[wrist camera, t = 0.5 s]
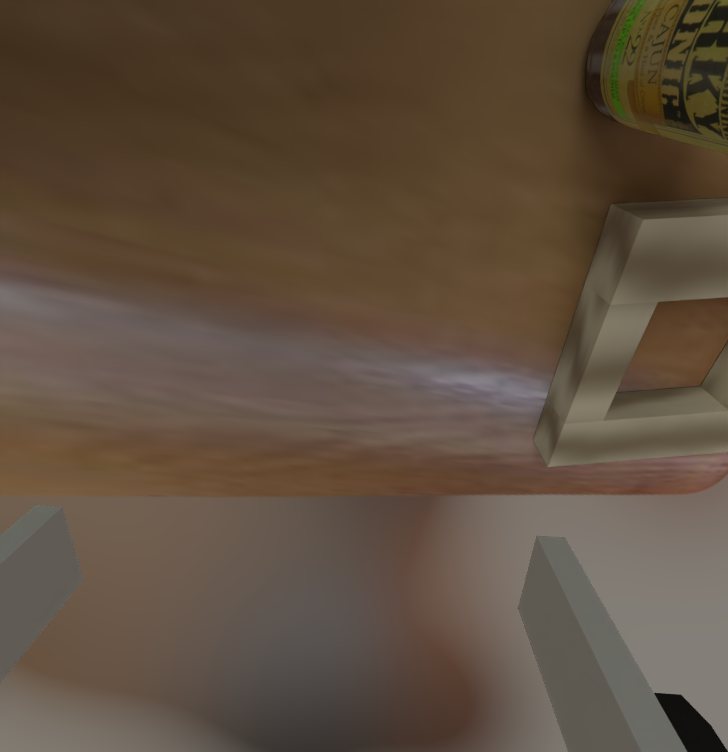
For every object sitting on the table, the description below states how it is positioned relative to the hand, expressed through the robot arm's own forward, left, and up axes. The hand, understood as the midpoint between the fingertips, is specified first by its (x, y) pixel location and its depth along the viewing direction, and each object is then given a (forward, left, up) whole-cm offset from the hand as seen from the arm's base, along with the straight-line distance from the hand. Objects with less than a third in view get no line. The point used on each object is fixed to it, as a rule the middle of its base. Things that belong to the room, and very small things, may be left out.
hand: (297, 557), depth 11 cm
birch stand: (+6, +26, -18) cm, 32 cm away
